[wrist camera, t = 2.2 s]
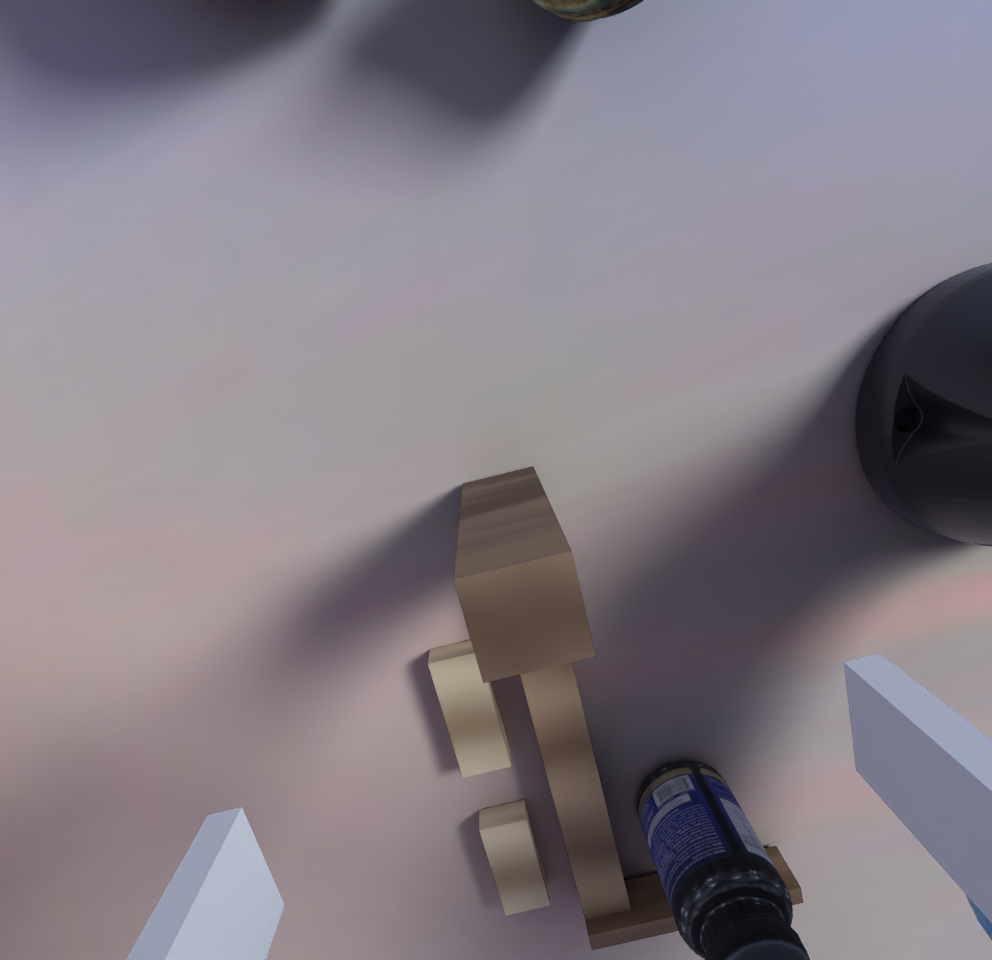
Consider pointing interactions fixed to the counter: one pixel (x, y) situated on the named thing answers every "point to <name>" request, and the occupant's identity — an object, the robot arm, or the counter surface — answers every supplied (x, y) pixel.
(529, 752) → the counter surface
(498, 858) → the broken strip
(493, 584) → the wooden stand
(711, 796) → the pill bottle
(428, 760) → the counter surface
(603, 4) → the seashell
